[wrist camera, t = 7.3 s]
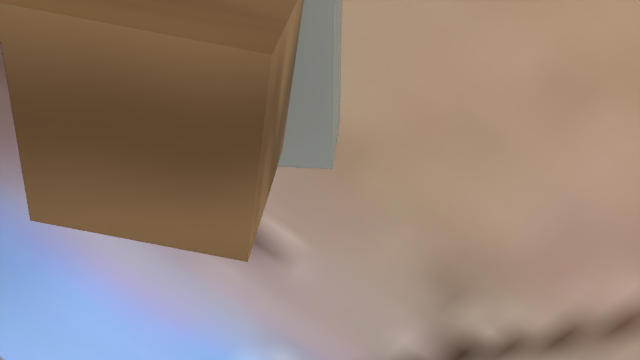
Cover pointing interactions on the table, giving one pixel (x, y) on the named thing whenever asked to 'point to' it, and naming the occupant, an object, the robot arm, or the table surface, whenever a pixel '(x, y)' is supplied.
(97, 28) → the walnut cube
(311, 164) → the slate slab
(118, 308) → the table surface
